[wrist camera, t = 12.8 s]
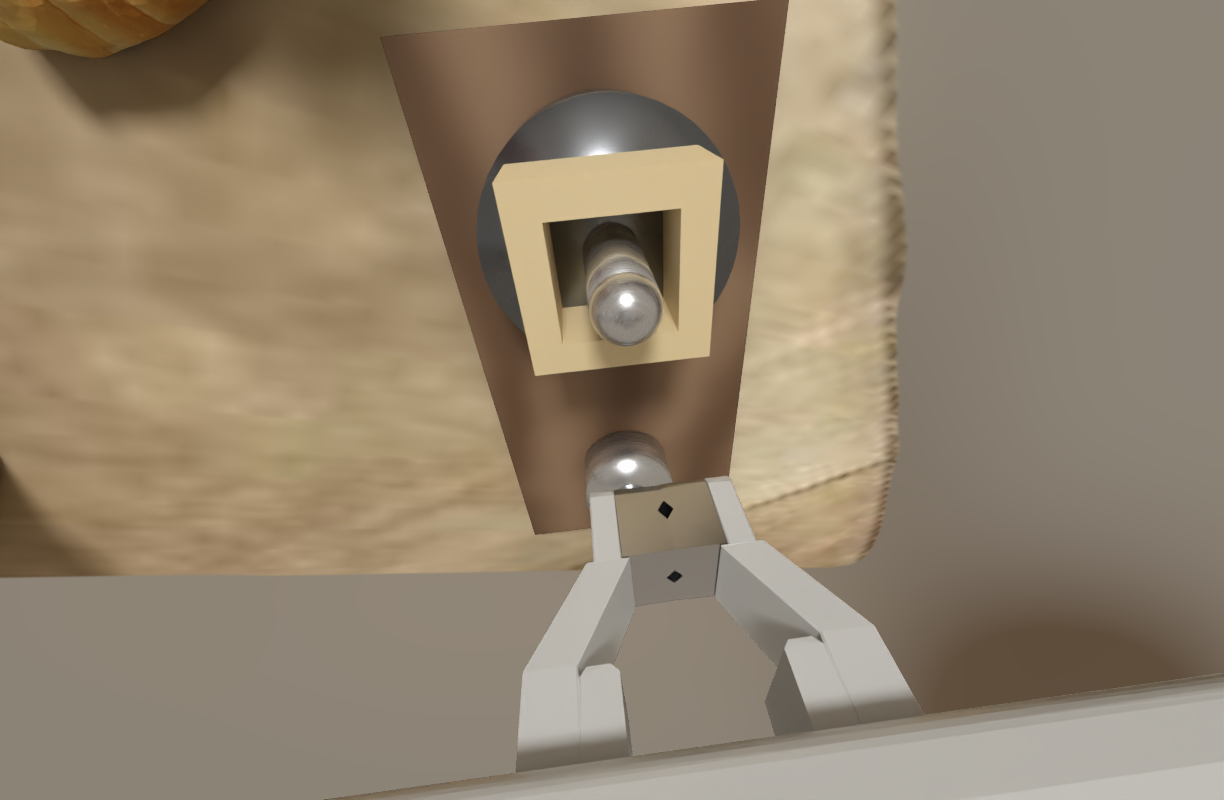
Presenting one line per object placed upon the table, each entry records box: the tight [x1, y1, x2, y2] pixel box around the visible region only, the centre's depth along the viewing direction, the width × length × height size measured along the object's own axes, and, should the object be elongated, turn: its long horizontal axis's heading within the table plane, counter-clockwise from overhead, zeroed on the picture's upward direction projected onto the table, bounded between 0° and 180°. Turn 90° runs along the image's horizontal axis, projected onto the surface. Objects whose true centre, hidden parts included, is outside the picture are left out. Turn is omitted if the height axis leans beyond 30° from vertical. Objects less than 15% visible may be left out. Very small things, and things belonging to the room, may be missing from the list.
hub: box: [476, 89, 740, 346], centre depth 15 cm, size 10×10×9 cm
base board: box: [380, 0, 789, 535], centre depth 24 cm, size 14×28×2 cm, turn 5°
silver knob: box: [584, 430, 673, 515], centre depth 25 cm, size 5×5×7 cm
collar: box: [492, 145, 724, 376], centre depth 16 cm, size 7×7×3 cm
